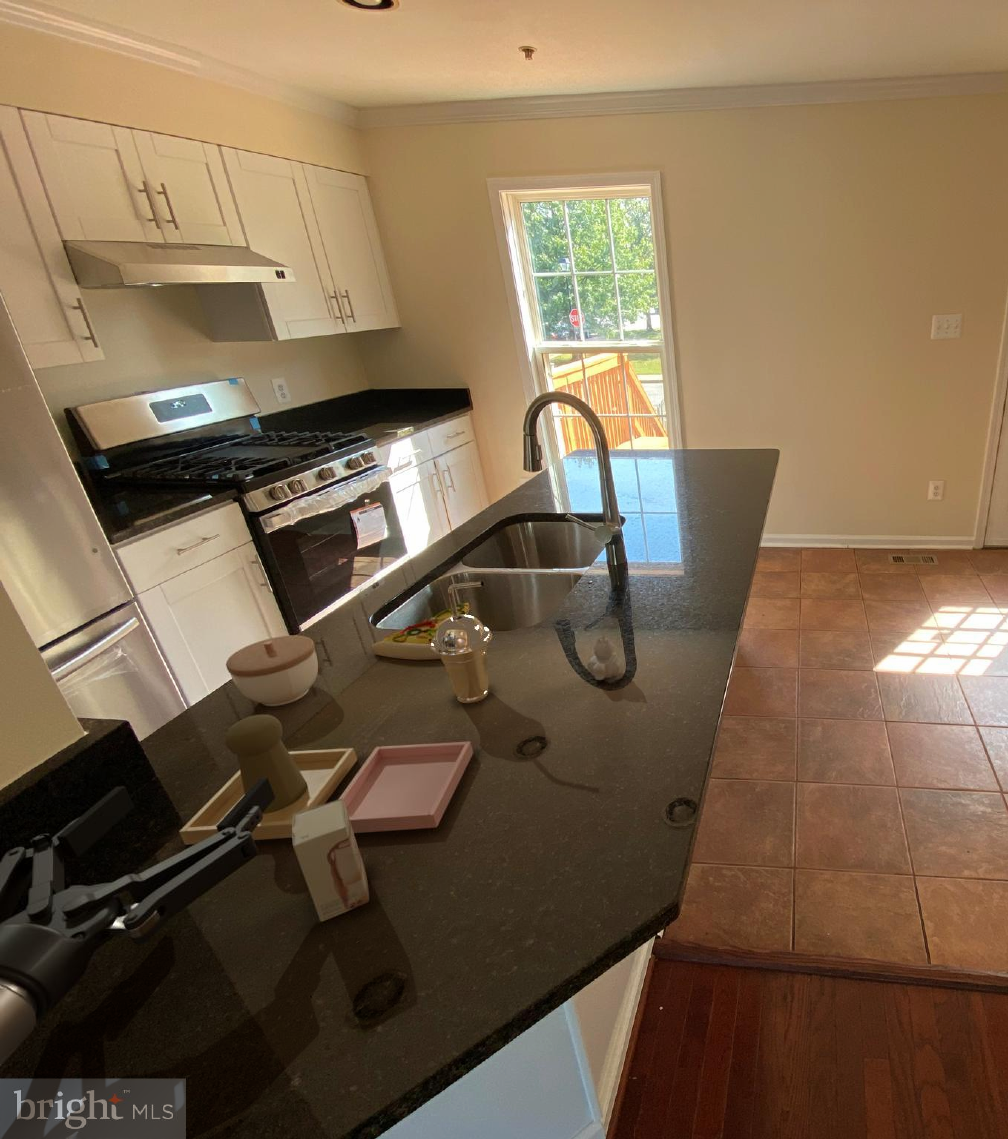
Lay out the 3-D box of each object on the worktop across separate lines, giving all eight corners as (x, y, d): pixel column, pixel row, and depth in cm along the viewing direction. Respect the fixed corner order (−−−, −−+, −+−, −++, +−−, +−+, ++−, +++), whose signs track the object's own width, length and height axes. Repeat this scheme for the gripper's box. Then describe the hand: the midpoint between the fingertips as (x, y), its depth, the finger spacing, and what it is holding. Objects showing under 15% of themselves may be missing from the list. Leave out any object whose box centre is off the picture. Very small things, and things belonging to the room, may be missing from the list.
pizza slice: (366, 659, 106) (362, 643, 105) (433, 606, 125) (430, 592, 124) (452, 663, 105) (449, 647, 104) (506, 609, 124) (504, 595, 123)
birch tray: (185, 844, 69) (178, 831, 68) (260, 765, 81) (255, 753, 80) (300, 837, 70) (295, 823, 70) (357, 759, 82) (353, 747, 82)
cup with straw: (481, 674, 102) (460, 563, 94) (515, 692, 97) (495, 577, 89) (432, 698, 95) (404, 581, 88) (465, 719, 91) (438, 597, 83)
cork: (242, 796, 75) (212, 723, 71) (300, 771, 79) (275, 700, 75) (252, 822, 72) (221, 746, 67) (313, 794, 76) (287, 721, 71)
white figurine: (627, 668, 104) (624, 626, 101) (614, 690, 98) (610, 646, 95) (597, 665, 105) (593, 624, 102) (582, 687, 99) (577, 644, 96)
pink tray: (326, 835, 71) (321, 822, 70) (379, 758, 83) (376, 746, 82) (436, 827, 72) (433, 814, 71) (473, 752, 84) (470, 741, 83)
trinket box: (310, 668, 103) (294, 619, 99) (338, 690, 97) (322, 639, 93) (231, 698, 95) (211, 646, 91) (257, 724, 89) (236, 669, 85)
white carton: (371, 902, 63) (346, 828, 59) (319, 924, 60) (290, 849, 56) (367, 867, 67) (343, 795, 63) (318, 886, 64) (291, 813, 60)
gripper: (-186, 1055, 44) (80, 828, 64) (188, 1018, 47) (334, 811, 66) (-251, 988, 41) (48, 771, 61) (152, 953, 44) (315, 756, 63)
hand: (197, 791), depth 64 cm, fingers open, 13 cm apart
